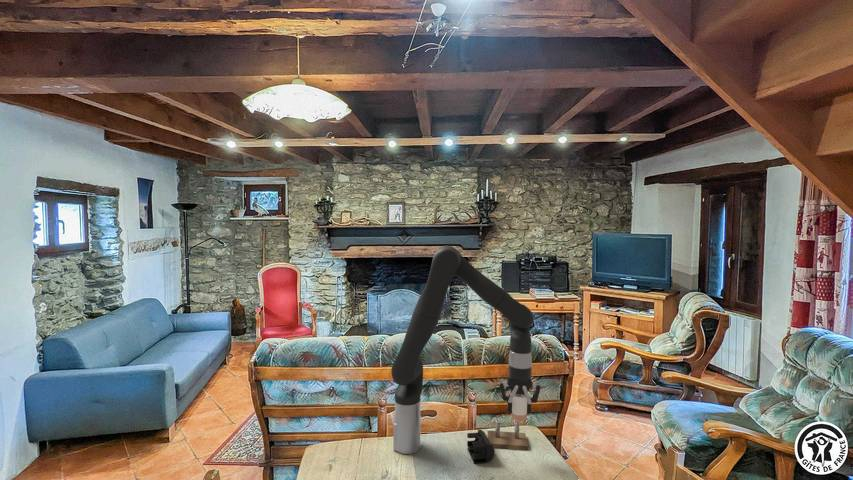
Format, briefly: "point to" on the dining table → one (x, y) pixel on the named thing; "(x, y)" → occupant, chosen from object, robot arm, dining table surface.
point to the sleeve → (519, 407)
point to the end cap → (480, 448)
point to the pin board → (508, 438)
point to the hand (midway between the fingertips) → (519, 412)
